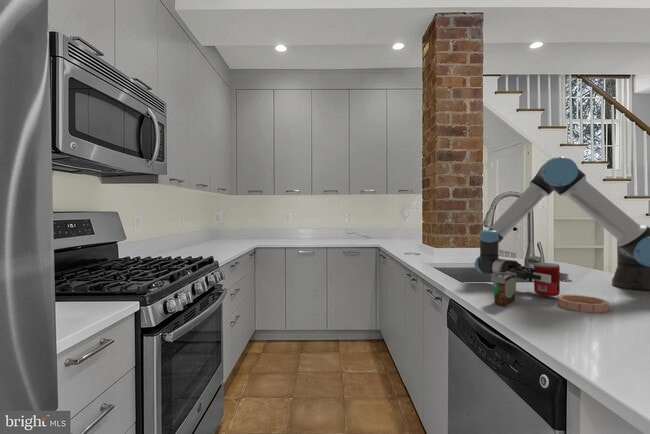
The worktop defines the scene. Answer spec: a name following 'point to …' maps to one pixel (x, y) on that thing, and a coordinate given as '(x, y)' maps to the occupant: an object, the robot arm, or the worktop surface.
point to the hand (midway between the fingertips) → (559, 278)
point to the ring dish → (583, 303)
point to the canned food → (545, 287)
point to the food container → (504, 288)
